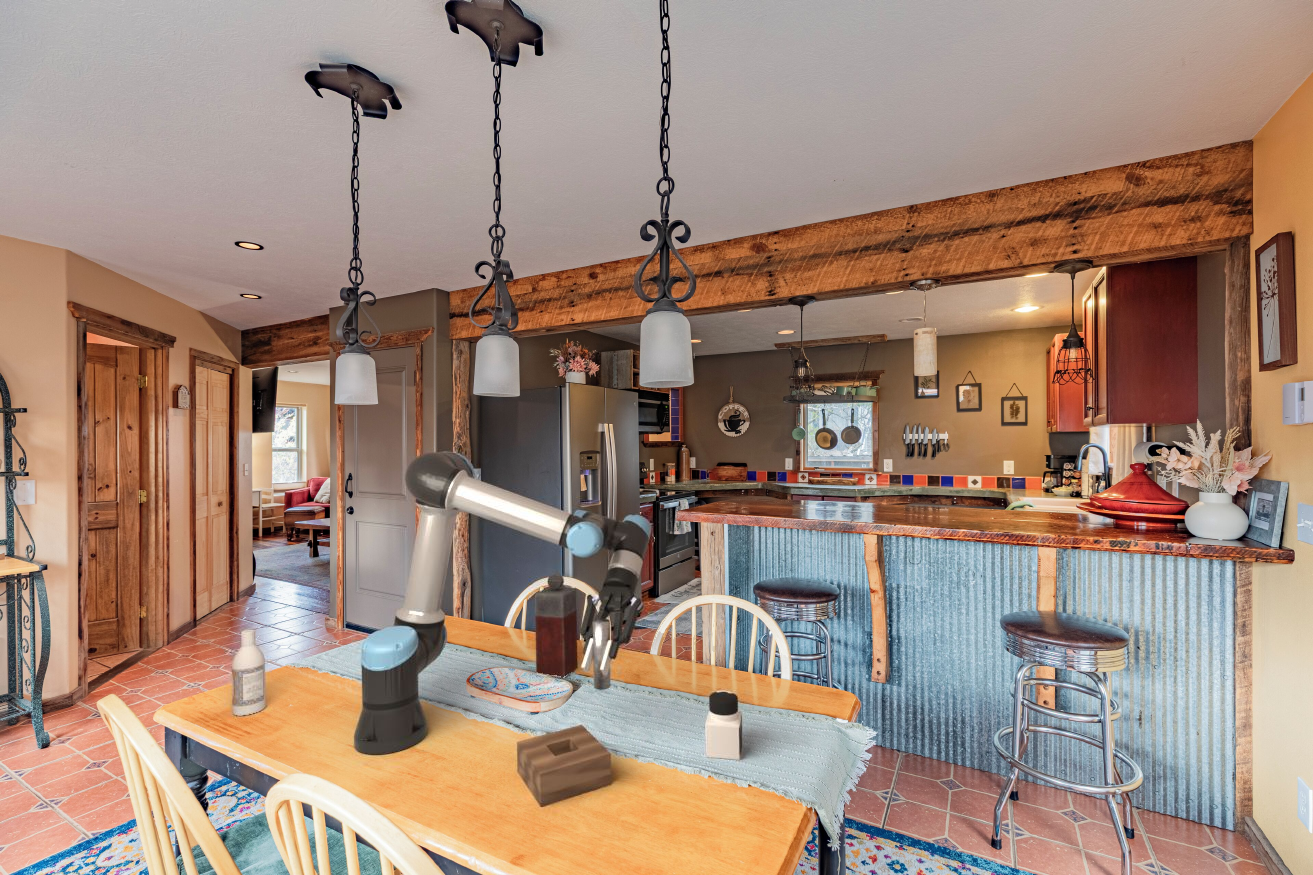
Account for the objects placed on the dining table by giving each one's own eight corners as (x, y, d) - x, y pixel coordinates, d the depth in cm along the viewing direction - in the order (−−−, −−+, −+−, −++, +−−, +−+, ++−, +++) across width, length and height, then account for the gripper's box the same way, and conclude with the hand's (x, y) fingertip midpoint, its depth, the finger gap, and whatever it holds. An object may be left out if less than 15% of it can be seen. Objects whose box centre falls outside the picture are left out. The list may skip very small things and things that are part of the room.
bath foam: (236, 707, 156) (235, 628, 156) (268, 702, 159) (266, 625, 159) (229, 719, 150) (228, 636, 150) (262, 713, 153) (261, 632, 153)
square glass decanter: (581, 664, 182) (579, 569, 182) (564, 678, 172) (562, 577, 172) (554, 661, 185) (552, 568, 185) (535, 675, 174) (534, 576, 174)
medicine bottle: (740, 760, 126) (739, 702, 126) (705, 758, 127) (704, 699, 127) (742, 744, 133) (741, 688, 133) (709, 741, 134) (708, 686, 134)
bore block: (517, 771, 123) (516, 741, 123) (582, 753, 130) (581, 724, 130) (540, 807, 111) (540, 773, 111) (611, 784, 118) (610, 753, 118)
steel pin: (591, 685, 133) (590, 620, 133) (605, 681, 135) (604, 617, 135) (598, 691, 130) (597, 624, 130) (613, 687, 132) (612, 621, 132)
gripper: (660, 585, 144) (636, 683, 128) (595, 581, 150) (564, 674, 134) (652, 567, 139) (626, 667, 123) (585, 563, 145) (552, 658, 129)
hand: (594, 671), depth 129 cm, fingers closed on steel pin, 3 cm apart
